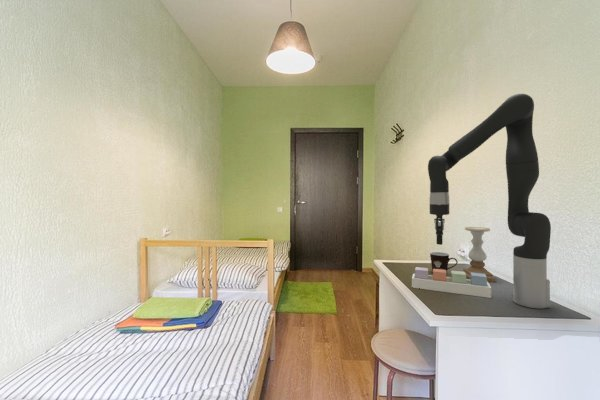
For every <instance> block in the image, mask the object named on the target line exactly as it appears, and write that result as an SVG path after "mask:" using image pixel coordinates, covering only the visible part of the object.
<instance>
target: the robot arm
mask: <svg viewBox="0 0 600 400" xmlns="http://www.w3.org/2000/svg"><path fill="white" fill-rule="evenodd" d="M534 111H535V102H534V99H533V97H531V96H530V95H529V94H526V93H517V94H516V93H515V94H513V95H510V96H509V97H507V99H505V101H504V102H502V103H501V104H500V106H498V107H497V108H496V109H495V110H494V111H493V113H491V114H490V115H489V116H488V117H486V119H484V120H482V122H481V123H479V124H478V125H477V126H476V127H474V128H473V129H471V130H470V131H469V132H467V133H466V134H465V135H463V136H462V137H461V138H459V139H457V140H456V141H455V142H454V143H453V144H451V145H450V146H449V147H448V149H447V150H446V151H445V152H444V153H443V154H442V155H433V156H432V157H430V159H429V160H428V163H427V173H428V177H429V182H430V185H429V192H430V193H429V214H430V215H433V216H435V217H436V218H433V219H434V220H433V222H434V230H435V235H436V245H439V246H440V245H443V235H444V231H445V222H446V220H445V218H443V216H448V215H450V191H449V190H450V189H449V188H450V187H449V179H447V172H448V171H450V170H451V169H452V168H453V167H455V165H457V164H458V163H459V162H460V161H461V160H463V159H464V158H466V157H467V156H468V155H471V154H472V153H473V152H474V151H475V150H477V149H478V148H479V147H481V146H482V145H484V143H485V142H487V140H489V139H490V138H491V137H492V136H494V135H495V134H496V133H498V132H500V130H503V129H504V128H505V130H506V137H507V139H506V150H505V171H506V179H507V196H508V197H507V199H508V201H507V203H508V204H507V226H508V227H507V228H508V229H509V231H510V233H511V234H512V235H513V236H517V237H522V238H524V239H523V240H524V242H523V244H521V245H517V246H515V247H514V248H513V251H512V253H513V258H512V259H513V264H512V265H513V273H512V274H513V277H512V278H513V279H512V280H513V283H512V284H513V287H512V289H513V290H512V291H513V294H512V296H513V302H514V303H515V304H517V305H519V306H522V307H526V308H531V309H538V310H540V309H541V310H542V309H546V308H550V307H551V293H550V292H551V280H550V279H548V278H547V275H548V273H547V272H548V271H547V269H548V267H547V266H548V265H547V263H548V261H547V258H548V253H549V250H550V247H551V246H550V243H551V233H552V227H551V226H552V225H551V222H550V219H549V217H548V216H547V215H546V214H544V213H542V212H533V211H532V212H530V210H529V198H530V195H531V192H532V191H533V189H534V187H535V185H536V184H537V181H538V179H539V177H540V166H539V156H538V149H537V146H536V143H535V139H534V134H533V119H534V118H533V117H534Z"/></svg>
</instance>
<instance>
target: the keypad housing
mask: <svg viewBox="0 0 600 400" xmlns="http://www.w3.org/2000/svg"><path fill="white" fill-rule="evenodd" d="M411 276H412V277H411V288H412V287H413V288H414V289H419V288H420V289H421V290H426V291H427V290H428V291H435V292H442V293H443V292H444V293H450V294H457V295H467V296H472V297H473V296H474V297H479V298H488V299H491V298H492V287H491V284H490V282H487V287H486V286H478V285H471V280H468V279H466V284H461V283H452V282H451V277H450V276H446V282H443V281H435V280H433V275H431V274H428V280H426V279H418V278H415V273H412V275H411ZM413 288H412V289H413Z"/></svg>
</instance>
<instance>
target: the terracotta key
mask: <svg viewBox="0 0 600 400" xmlns="http://www.w3.org/2000/svg"><path fill="white" fill-rule="evenodd" d="M432 276H433V280H435V281H443V282H446V277H447V275H446V270H441V269H433V272H432Z"/></svg>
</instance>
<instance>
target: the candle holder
mask: <svg viewBox="0 0 600 400" xmlns="http://www.w3.org/2000/svg"><path fill="white" fill-rule="evenodd" d="M464 230H465V231H468V232H470V234H471V236H472V239H470V242H471V243H472V248H471V250H470V251H469V252H468V258H469V259H470V262H469V265H470V266H469V267H465V268H464V267H463V269H462V270H460V271H461V272H465V273H466V279H468V280H471V273H481V274H485V275H486V276H487V282H488V283H496V277H494V275H493V273H491V272H490V271H488V270H487V268H485V266H486V264H485V262H484V261H485V260H487V254H486V252H485V251H484V249H483V248H482V245H483V243H485V241H484V240H483V237H482V236H483V235H485V232H490V231H491V229H490V227H483V226H482V227H481V226H479V227H478V226H466V227H465V226H464Z"/></svg>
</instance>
